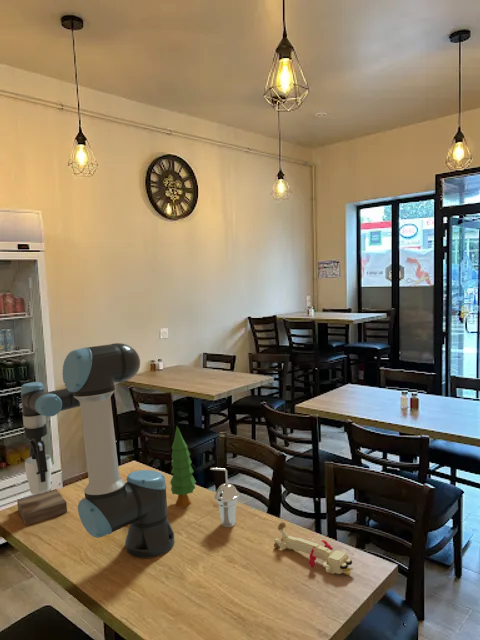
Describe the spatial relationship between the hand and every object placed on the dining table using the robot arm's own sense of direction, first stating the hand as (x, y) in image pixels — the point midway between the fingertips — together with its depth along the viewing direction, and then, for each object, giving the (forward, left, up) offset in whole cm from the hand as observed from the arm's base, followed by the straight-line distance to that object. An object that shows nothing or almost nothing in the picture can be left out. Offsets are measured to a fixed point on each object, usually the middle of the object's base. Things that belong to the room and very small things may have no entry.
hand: (40, 485), depth 173 cm
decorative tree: (-28, -44, -10) cm, 53 cm away
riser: (0, 0, -10) cm, 10 cm away
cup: (0, 0, -2) cm, 2 cm away
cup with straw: (-51, -48, -10) cm, 71 cm away
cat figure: (-84, -56, -10) cm, 102 cm away
